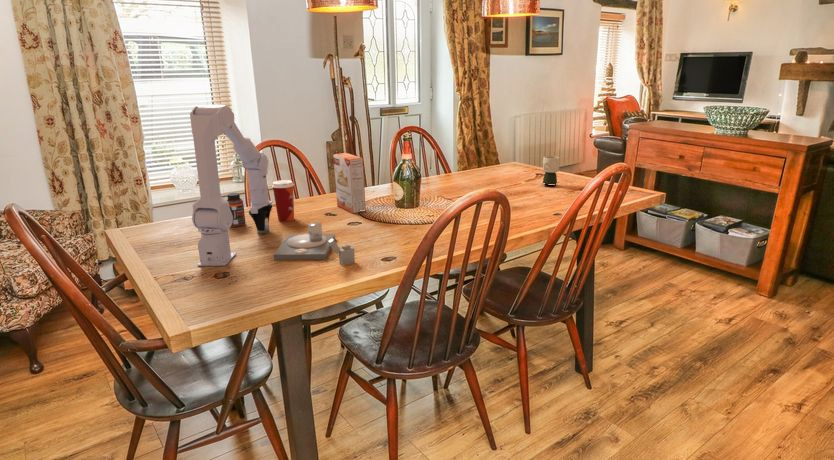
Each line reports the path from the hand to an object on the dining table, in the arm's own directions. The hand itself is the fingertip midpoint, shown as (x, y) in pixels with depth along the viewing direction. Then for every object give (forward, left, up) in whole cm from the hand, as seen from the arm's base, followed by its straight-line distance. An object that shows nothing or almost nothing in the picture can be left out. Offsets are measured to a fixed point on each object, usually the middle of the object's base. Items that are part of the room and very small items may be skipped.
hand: (263, 228), depth 175 cm
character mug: (+62, -111, -2) cm, 127 cm away
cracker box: (+28, -26, -2) cm, 38 cm away
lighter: (-30, -31, -2) cm, 43 cm away
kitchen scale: (-17, -18, -1) cm, 25 cm away
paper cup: (+15, -4, -2) cm, 16 cm away
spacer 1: (0, 0, -1) cm, 1 cm away
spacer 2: (-15, -21, +1) cm, 26 cm away
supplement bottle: (+9, +12, -2) cm, 15 cm away
